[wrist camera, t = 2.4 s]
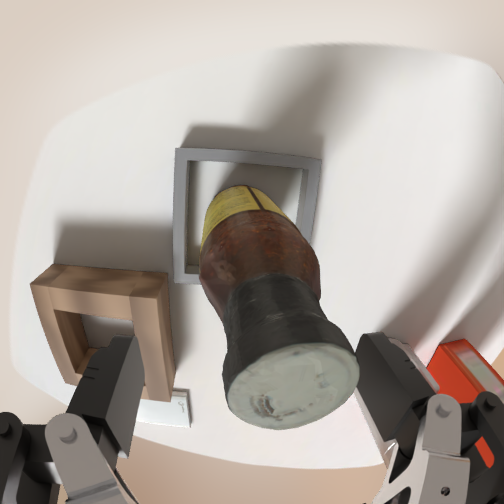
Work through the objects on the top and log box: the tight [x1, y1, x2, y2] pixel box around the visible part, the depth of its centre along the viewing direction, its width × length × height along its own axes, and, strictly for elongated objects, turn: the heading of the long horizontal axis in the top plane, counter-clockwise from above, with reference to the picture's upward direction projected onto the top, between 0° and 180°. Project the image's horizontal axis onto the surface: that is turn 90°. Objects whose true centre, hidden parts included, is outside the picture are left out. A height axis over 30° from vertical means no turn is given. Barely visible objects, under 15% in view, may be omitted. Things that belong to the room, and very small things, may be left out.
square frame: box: [173, 148, 321, 285], centre depth 24 cm, size 12×12×2 cm
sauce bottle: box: [199, 185, 360, 430], centre depth 16 cm, size 6×6×20 cm
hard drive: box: [136, 391, 191, 428], centre depth 34 cm, size 2×8×12 cm
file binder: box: [427, 339, 504, 468], centre depth 24 cm, size 8×17×32 cm, turn 175°
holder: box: [30, 264, 176, 402], centre depth 26 cm, size 14×14×5 cm
